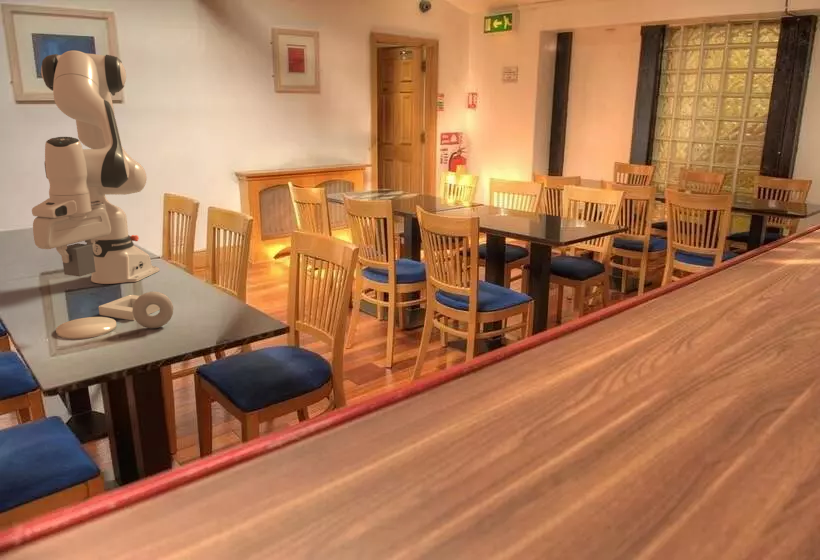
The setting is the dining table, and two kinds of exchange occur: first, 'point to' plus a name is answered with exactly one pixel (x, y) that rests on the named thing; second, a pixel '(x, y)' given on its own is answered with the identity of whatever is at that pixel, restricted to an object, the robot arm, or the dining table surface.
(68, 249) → the block
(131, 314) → the pocket collar
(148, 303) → the donut
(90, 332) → the peach ellipsoid
